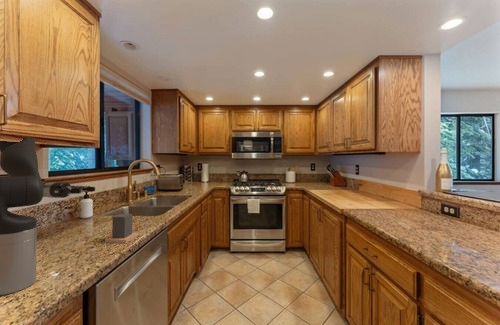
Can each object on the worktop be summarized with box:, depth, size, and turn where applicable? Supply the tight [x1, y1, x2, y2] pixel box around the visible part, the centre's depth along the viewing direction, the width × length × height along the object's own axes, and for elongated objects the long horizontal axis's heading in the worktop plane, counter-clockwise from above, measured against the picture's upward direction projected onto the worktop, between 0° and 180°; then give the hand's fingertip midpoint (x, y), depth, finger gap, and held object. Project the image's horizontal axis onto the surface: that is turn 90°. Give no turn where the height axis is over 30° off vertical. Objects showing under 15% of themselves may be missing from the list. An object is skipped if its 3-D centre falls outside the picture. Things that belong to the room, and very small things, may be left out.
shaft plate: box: [104, 232, 139, 244], centre depth 104 cm, size 10×10×10 cm
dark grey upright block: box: [111, 213, 133, 238], centre depth 104 cm, size 6×6×10 cm
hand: (87, 190), depth 103 cm, fingers open, 8 cm apart
